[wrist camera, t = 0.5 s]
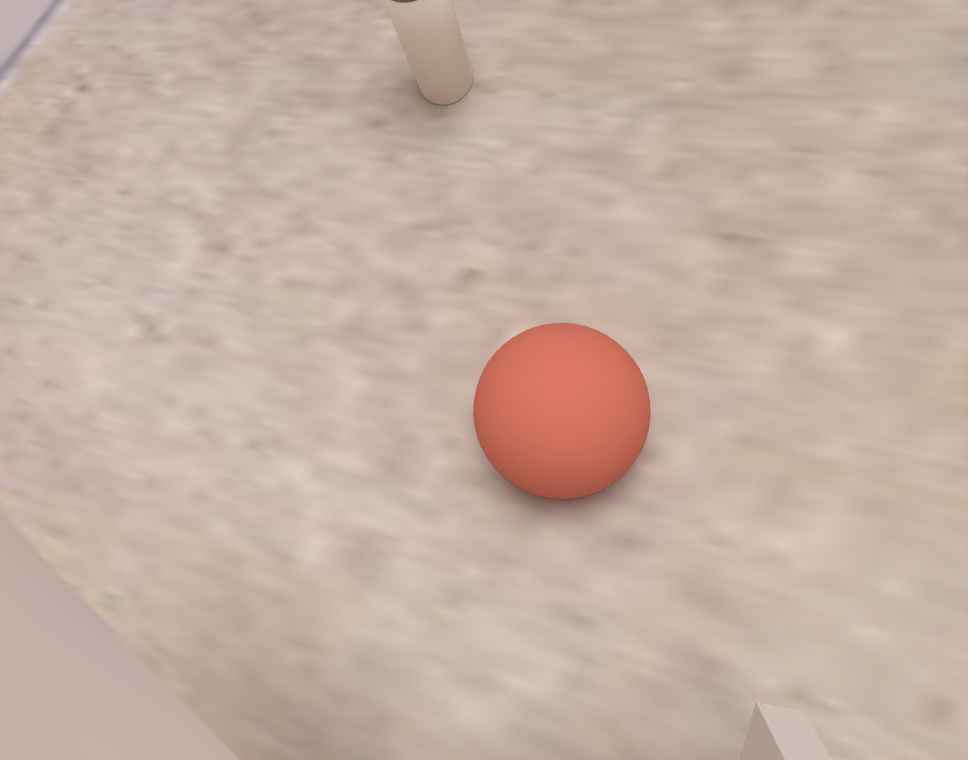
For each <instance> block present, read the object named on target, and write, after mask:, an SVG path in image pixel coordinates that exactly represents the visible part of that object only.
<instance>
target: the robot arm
mask: <svg viewBox="0 0 968 760" xmlns="http://www.w3.org/2000/svg"><path fill="white" fill-rule="evenodd" d="M740 760H832V759H831V757H830V755H829V753H828V752H827V750H826V748H825V747H824V745H823V743H822V741H821V740H820V738H819V736H818V735H817V733H816V731H815V729H814V728H813V726H812V724H811V723H810V721H809V719H808V717H807V716H806V714H805V712H804V711H803V710H797V709H792V708H786V707H780V706H775V705H769V704H763V703H758V702H756V705H755V709H754V712H753V716H752V720H751V723H750V727H749V730H748V734H747V738H746V741H745V745H744V748H743V752H742V755H741V759H740Z"/></svg>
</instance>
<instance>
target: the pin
mask: <svg viewBox="0 0 968 760" xmlns="http://www.w3.org/2000/svg"><path fill="white" fill-rule="evenodd" d="M384 2H385V5H386V7H387V10H388V12H389V15H390V17H391V19H392V22H393V24H394V27H395V29H396V32H397V34H398V37H399V39H400V42H401V44H402V47H403V49H404V52H405V54H406V57H407V59H408V61H409V64H410V66H411V69H412V71H413V74H414V76H415V79H416V81H417V84H418V86H419V89H420V91H421V93H422V95H423V96H424V97H425V98H426V99H427V100H428V101H430V102H432V103H434V104H438V105H447V104H452V103H454V102H457V101H458V100H460V99H461V98H463V97H464V96H465V95H466V94H467V92H468V91H469V89H470V87H471V85H472V80H473V75H472V70H471V67H470V63H469V59H468V56H467V52H466V49H465V45H464V41H463V38H462V34H461V30H460V27H459V23H458V20H457V16H456V12H455V9H454V5H453V1H452V0H384Z"/></svg>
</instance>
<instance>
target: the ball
mask: <svg viewBox="0 0 968 760" xmlns="http://www.w3.org/2000/svg"><path fill="white" fill-rule="evenodd" d="M474 423H475V429H476V433H477V437H478V440H479V442H480V445H481V447H482V449H483V451H484V453H485V455H486V456H487V458H488V459H489V461H490V462H491V463H492V465H493V466H494V468H495V469H496V470H497V471H498V472H499V473H500V474H501V475H502V476H503V477H504V478H506V479H507V480H508V481H509V482H511V483H512V484H514V485H515V486H517V487H519V488H520V489H522V490H524V491H527V492H529V493H531V494H534V495H538V496H541V497H546V498H553V499H571V498H579V497H583V496H587V495H590V494H593V493H595V492H598V491H600V490H602V489H604V488H606V487H608V486H609V485H611V484H612V483H614V482H615V481H616V480H618V479H619V478H620V477H621V476H622V475H623V474H624V473H625V472H626V471H627V470H628V469H629V468H630V467H631V466H632V464H633V463H634V462H635V460H636V459H637V457H638V455H639V454H640V452H641V450H642V448H643V445H644V443H645V440H646V437H647V433H648V429H649V423H650V400H649V394H648V389H647V386H646V383H645V380H644V377H643V375H642V373H641V371H640V369H639V367H638V366H637V364H636V363H635V361H634V360H633V358H632V357H631V356H630V355H629V354H628V352H627V351H626V350H625V349H624V348H623V347H621V346H620V345H619V344H618V343H617V342H616V341H614V340H613V339H611V338H610V337H609V336H607V335H605V334H603V333H601V332H599V331H597V330H595V329H592V328H589V327H586V326H582V325H578V324H570V323H553V324H546V325H541V326H537V327H534V328H531V329H529V330H526V331H524V332H522V333H520V334H518V335H516V336H515V337H513V338H512V339H510V340H509V341H508V342H506V343H505V344H504V345H503V346H502V347H501V348H500V349H499V350H498V351H497V352H496V353H495V354H494V355H493V356H492V358H491V359H490V360H489V362H488V363H487V365H486V367H485V368H484V370H483V372H482V374H481V377H480V379H479V382H478V385H477V389H476V393H475V399H474Z"/></svg>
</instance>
